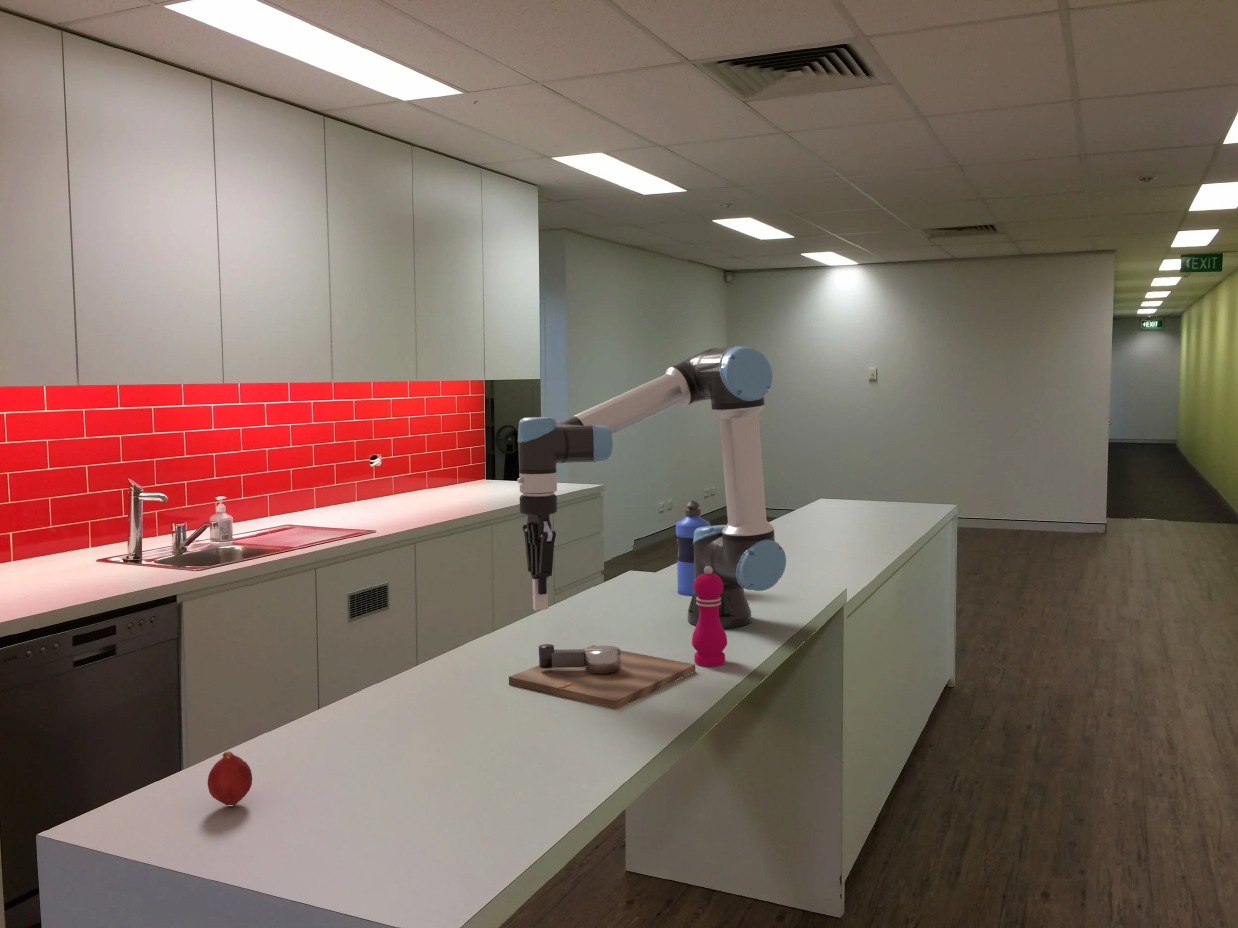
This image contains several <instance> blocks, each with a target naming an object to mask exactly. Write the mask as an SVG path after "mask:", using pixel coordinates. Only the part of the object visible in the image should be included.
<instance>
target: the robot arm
mask: <svg viewBox="0 0 1238 928" xmlns="http://www.w3.org/2000/svg"><path fill="white" fill-rule="evenodd" d="M772 384H773V370H772V366H771V363H770V362H769V360H768V358H767V357H766V356H765V355H764V354H763V353H762V352H761V351H760V350H758V349H756V348H753V347H751V346H743V345H742V346H741V345H735V346H730V347H717V348H709V349H705V350H703V351H701V352H699V353H696V354H694V355H692V356H690V357H688V358H686V359H685V360H682V361H681V362H678V363H677V364H675V365H672V366H670V367H668V368H667V369H666V370H665V373H664V374H662V375H661V376H659V377H657V378H655V379H652V380H650V381H647V382H645V383H643V384H641V385H639V386H636V387H635V388H632V389H630V390H628V391H625V392H623V393H621V394H619V395H616V396H614V397H612V398H610V399H608V400H605V401H603V402H601V403H599V404H597V405H594V406H592V407H589V408H587V409H586V410H583V411H581V412H579V413H577V414H575V415H574V414H573V416H571V417H568V418H565V419H563V420H561V421H559V422H556V419H555V418H554V417H551V416H539V417H538V416H537V417H536V416H533V417H532V416H531V417H523V418H521V419H520V420H519V422H518V430H517V431H518V432H517V444H518V445H517V446H518V465H519V466H518V467H519V468H518V472H519V474H518V475H519V478H517V480H516V481H517V483H518V484H519V492H520V493H521V494H520V496H519V512H520V513H521V514H523V515H525V516H527V521H526V524H523V525H522V530H523V531H522V532H523V534H524V544H525V553H526V555H525V556H526V561H527V571H528V573H530V575H531V579H532V580H531V581H532V582H531V583H532V610H534V611H543V610H548V609H549V597H548V596H549V591H548V587H549V586H548V585H549V584H548V578H550V577H552V575H553V565H554V552H555V541H556V536H557V532H556V531H555V530H552V523H551V519H550V518H551V517H550V515H551V514H553V515H554V514H556V513H557V512H558V496H557V495H556V494H555V493H556V492H557V491H558V478H557V477H558V472H557V464H564V463H565V464H566V463H568V464H569V463H571V464H572V463H596V462H603V461H604V462H605V461H607V460H609V459H610V457H611V455H612V452H613V449H614V446H613V444H614V442H613V436H615V434H618V433H620V432H621V433H622V431H625V430H627V429H629V428H632V427H633V426H635V425H638V424H640V423H642V422H644V421H646V420H648V419H650V418H653V417H655V416H657V415H659V414H661V413H664V412H666V411H668V410H670V409H672V408H674V407H676V406H681V407H687V406H688V405H689V406H690V405H691V404H694V403H697V402H702V401H709V400H710V401H711V404H710V405H711V411H712V413H714V414H715V415H717V417H718V418H719V427H720V438H721V439H720V441H721V450H722V451H721V452H722V463H723V464H722V465H723V476H724V477H723V478H724V489H725V500H726V501H725V502H726V515H727V516H726V517H727V524H718V525H710V526H706V527H699V528H697V529H696V530H695V532H694V539H693V545H694V582H695V580H696V578H697V577H698V576H699V575H701V574H705V573H704V568H705V567H706V566H710V567H712V570H713V571H712V574H716V575H717V576H719V577H720V578H721V580H722V582H723V591H722V593H721V594H720V595H719V597H721V600H720V602H721V604H720V605H719V619H720V622H721V624H722V627H723V629H730V628H737V627H738V628H739V627H743V626H747V625H748V624H750V623H751V622H752V610H751V607H750V605H749V602H748V597H747V596H746V592H745V590H749V591H754V592H755V591H756V592H762V591H766V590H769V589H771V588H773V587H774V586H776V584H777V583H778V582H779V581H780V579H782V577H783V575H784V573H785V570H786V567H787V565H786V564H787V555H786V552H785V550H784V548H783V547H782V546H781V544H779V543H778V542H777V541H776V536H775V527H774V525H772V523H770V522H769V521H767V510H766V508H767V507H766V499H765V497H766V495H765V483H764V471H763V460H762V459H763V457H762V445H761V444H762V443H761V434H760V431H761V430H760V420H759V415H760V412H761V411H762V410H763V409H764V408H765V407H766V406H765V396H766V395H767V393H768V392H769V389H771V386H772ZM697 597H698V595H697V594H696V593H695V591H694V593H693V596H691V599H690V603H689V605H688V606H689V607H688V609H687V622H688V624H689V623H690V624H691V625H694V626H696V625H697V623H698V620H699V605H697V599H696V598H697Z"/></svg>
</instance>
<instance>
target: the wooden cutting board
mask: <svg viewBox="0 0 1238 928" xmlns="http://www.w3.org/2000/svg"><path fill="white" fill-rule="evenodd" d="M594 646H595V645H589V646H588V647H585V648H583V649H587V648H590V647H594ZM620 652H621V669H620V670H618V671H616V672H612V673H591V672H588V671H586V670H585V667H566V668H547V669H545V668H540V667H539V665H536V666H534V667H531V668H528V669H525V670H522V671H520V672H517V673H515V674H512V675H510V676H508V685H511V686H516V687H517V688H518V687H519V688H523V689H528V690H532V691H537V692H540V693H545V694H548V695H552V696H556V697H561V698H566V699H571V700H575V701H577V702H578V701H579V702H582V703H588V704H591V705H595V706H599V707H604V708H608V709H612V710H618V709H620V708H621V707H623V706H626V705H627V704H628V705H629V704H630V703H632V702H634V701H637V700H638V699H639V700H640V698H643V697H645V696H647V695H649V694H651V693H653V691H654V692H655V690H656V691H658V690H660V689H662V688H664V687H666V686H668V685H667V684H669V683H671V682H673V681H675V680H677V679H679V678H681V677H683V678H685V677H684V676H686V675H688V674H690V673H692V672H694V671H695V672H696V664H695V663H691V662H690V663H689V662H683V661H678V660H673V659H667V658H663V657H656V656H653V655H646V654H642V653H635V652H632V651H631V652H629V651H625V650H621V649H620ZM695 672H694V673H695ZM692 674H693V673H692ZM690 675H691V674H690ZM688 676H689V675H688ZM686 677H687V676H686ZM681 679H682V678H681ZM679 680H680V679H679ZM677 681H678V680H677ZM675 682H676V681H675ZM673 683H674V682H673ZM671 684H672V683H671ZM665 685H666V686H665ZM669 685H670V684H669ZM663 686H664V687H663ZM661 687H662V688H661ZM659 688H660V689H659ZM657 689H658V690H657Z"/></svg>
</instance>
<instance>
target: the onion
mask: <svg viewBox="0 0 1238 928" xmlns="http://www.w3.org/2000/svg"><path fill="white" fill-rule="evenodd" d="M252 785H253V774H252V769H251V768H250V766H249V764H248V763H247V762H246V761H245V760H244V759H242V758H241V757H240V756H237V755H235V754H234V753H233V752H231V751H230V750H227V751H225V752H224V753H223V754H222V758H220V759H218V760H217V761H216V763H214V765H213V766H212V767H211V770H210V771H209V774H208V777H207V789H208V793H209V794H210V795H211V797H212V798H213V799H215V800H216V801H218V802H219V803H222V804H224V805H225V806H226V805H234V806H236V805H237V804H238V803H240V801H241V800H243V799H244V798H245V797H246V795H247V794H248V793H249V792H250V790H251V787H252ZM235 804H236V805H235Z"/></svg>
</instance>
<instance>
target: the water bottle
mask: <svg viewBox="0 0 1238 928" xmlns="http://www.w3.org/2000/svg"><path fill="white" fill-rule="evenodd" d="M700 506H701V505H700V503H699V502H697V501H696V500H689V501H688V502H687V503H686V504H685V507H686V508H685V509H684V515H685V517H684V518H682V519H680V520H679V521H677V522H676V523H675V536H676V542H677V547H678V550H677V551H678V552H677V553H678V554H677V559H676V560H677V562H676V563H677V564H676V565H677V567H676V569H677V570H676V571H677V573H676V575H677V579H676V580H677V594H678V595H681V596H687V597H692V596H693V593H694V545H693V539H694V532H695V530H696V529H697V528H699V527H706V526H711V522H710V521H707V520H706V519H703V518H702V517H701V514H702V513H701V511H702V510H701V508H699V507H700Z"/></svg>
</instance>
